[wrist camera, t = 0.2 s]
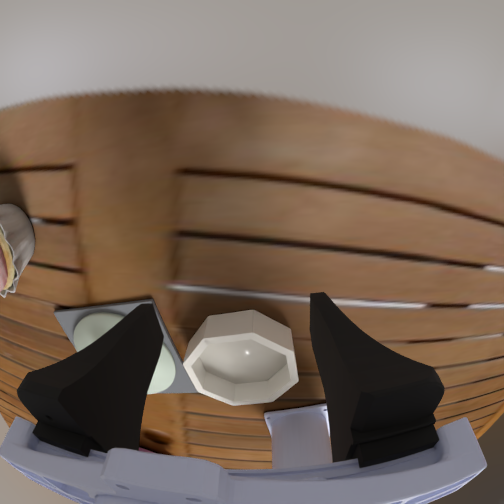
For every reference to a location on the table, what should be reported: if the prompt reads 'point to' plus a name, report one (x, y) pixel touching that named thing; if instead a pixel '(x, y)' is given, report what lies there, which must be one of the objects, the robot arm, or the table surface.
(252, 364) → the bowl
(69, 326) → the mat
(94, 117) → the table surface
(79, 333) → the lid
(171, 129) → the table surface
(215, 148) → the table surface
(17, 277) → the cupcake
